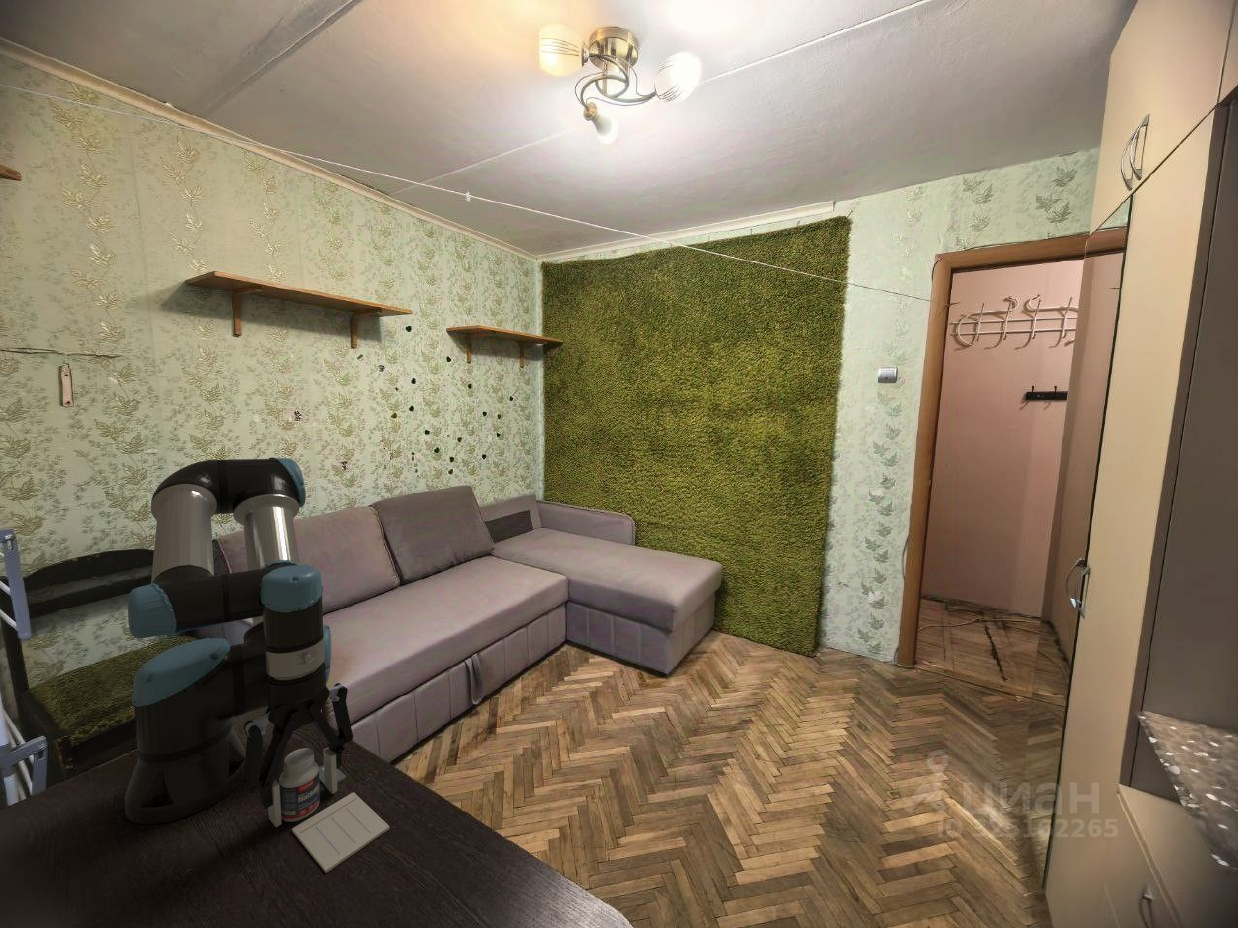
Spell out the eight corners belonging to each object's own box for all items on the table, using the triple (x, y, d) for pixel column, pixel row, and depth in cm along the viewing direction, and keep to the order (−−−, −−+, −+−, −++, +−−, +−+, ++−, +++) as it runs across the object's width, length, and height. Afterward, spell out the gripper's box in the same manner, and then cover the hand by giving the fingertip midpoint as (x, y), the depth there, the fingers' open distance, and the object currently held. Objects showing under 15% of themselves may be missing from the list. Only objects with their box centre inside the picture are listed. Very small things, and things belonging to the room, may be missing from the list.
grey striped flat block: (311, 772, 84) (311, 770, 84) (330, 762, 87) (330, 760, 87) (328, 788, 81) (327, 786, 81) (346, 778, 83) (346, 776, 83)
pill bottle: (300, 826, 74) (298, 771, 73) (271, 819, 75) (269, 765, 74) (327, 799, 79) (326, 748, 78) (300, 793, 80) (298, 742, 79)
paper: (291, 831, 73) (291, 828, 72) (353, 794, 80) (353, 791, 80) (326, 872, 66) (325, 870, 66) (389, 828, 74) (389, 826, 73)
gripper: (223, 709, 64) (234, 864, 67) (374, 649, 80) (379, 776, 83) (205, 689, 68) (216, 836, 71) (352, 636, 85) (357, 757, 87)
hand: (304, 803), depth 77 cm, fingers open, 7 cm apart
